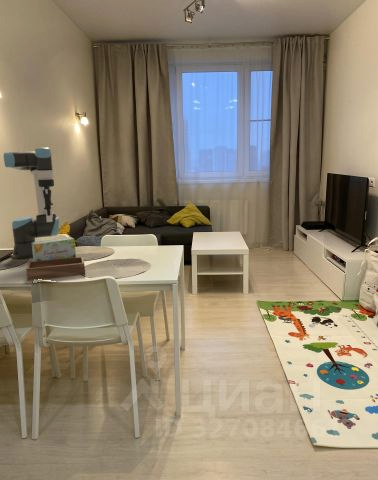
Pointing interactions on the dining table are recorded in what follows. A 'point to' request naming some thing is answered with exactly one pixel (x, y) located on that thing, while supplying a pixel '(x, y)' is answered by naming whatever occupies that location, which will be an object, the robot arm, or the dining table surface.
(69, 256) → the snack box
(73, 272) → the dark brown wooden tray
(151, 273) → the dining table surface
